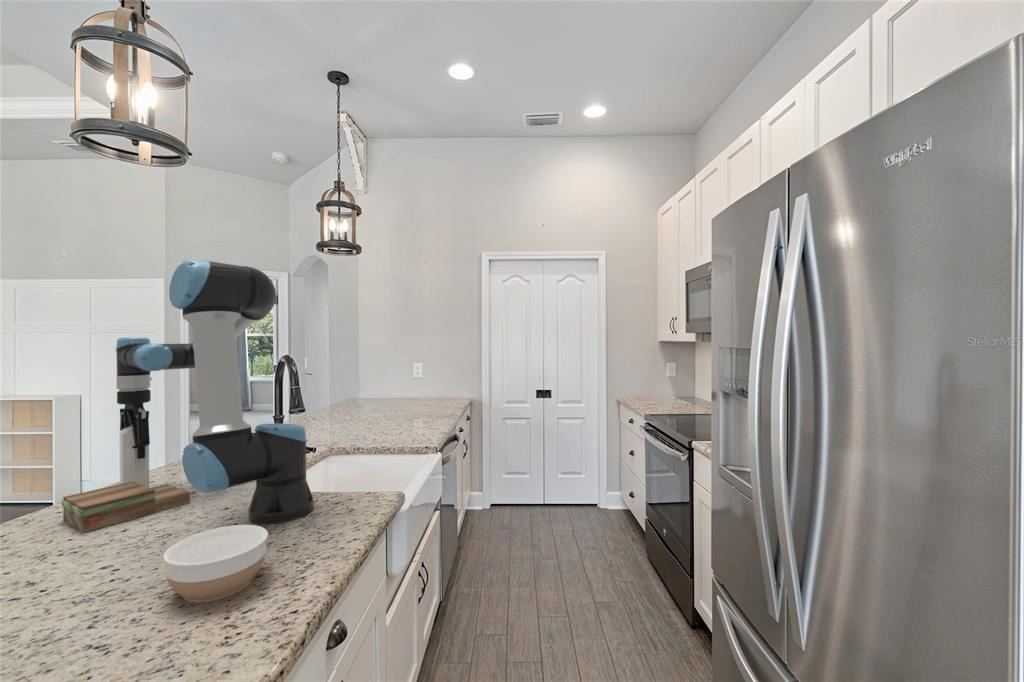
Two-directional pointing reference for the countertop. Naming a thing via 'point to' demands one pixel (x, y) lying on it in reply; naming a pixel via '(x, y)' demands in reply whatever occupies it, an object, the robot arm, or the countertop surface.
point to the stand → (119, 504)
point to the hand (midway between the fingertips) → (134, 467)
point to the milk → (131, 460)
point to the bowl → (215, 562)
